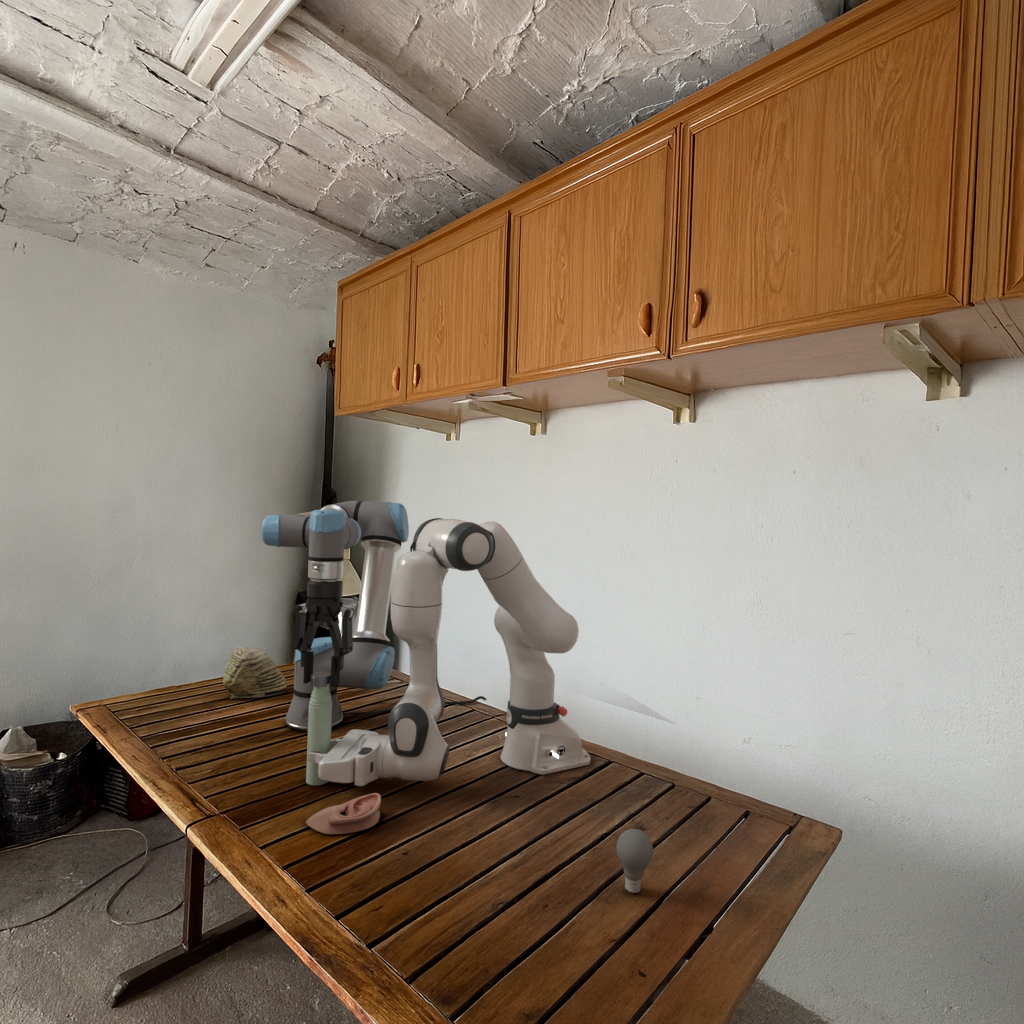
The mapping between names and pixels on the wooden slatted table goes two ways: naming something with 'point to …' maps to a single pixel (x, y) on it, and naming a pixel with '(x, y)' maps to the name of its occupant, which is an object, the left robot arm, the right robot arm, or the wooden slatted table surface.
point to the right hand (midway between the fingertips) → (314, 750)
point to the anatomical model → (347, 816)
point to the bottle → (318, 730)
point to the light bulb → (634, 857)
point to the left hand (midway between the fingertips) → (321, 683)
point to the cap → (321, 679)
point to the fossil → (252, 674)
